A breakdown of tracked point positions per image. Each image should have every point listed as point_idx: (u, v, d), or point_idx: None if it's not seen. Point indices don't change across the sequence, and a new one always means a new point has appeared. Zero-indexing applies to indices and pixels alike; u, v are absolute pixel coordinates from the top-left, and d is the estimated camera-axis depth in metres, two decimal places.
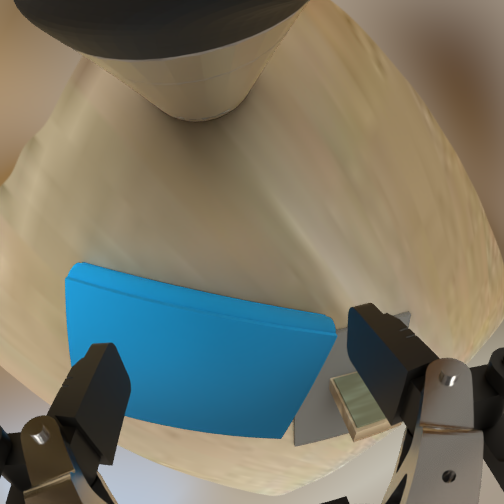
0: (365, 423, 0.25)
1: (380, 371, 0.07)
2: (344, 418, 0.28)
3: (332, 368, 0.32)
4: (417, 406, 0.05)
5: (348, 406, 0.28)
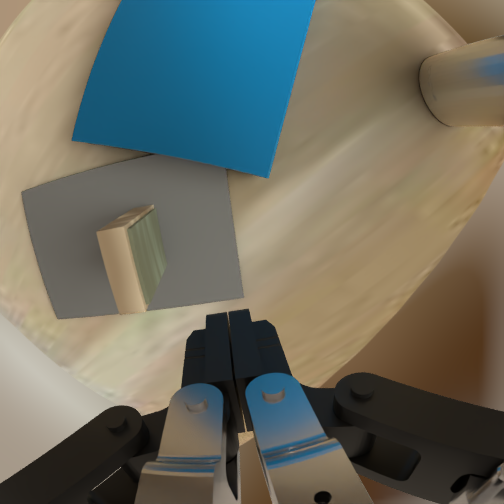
0: (134, 242, 0.18)
1: None
2: (119, 219, 0.20)
3: (171, 203, 0.26)
4: None
5: (142, 220, 0.21)
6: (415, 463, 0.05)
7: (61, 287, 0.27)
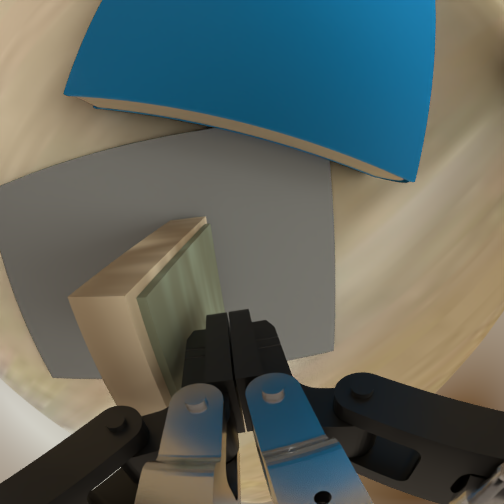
0: (157, 326, 0.08)
1: None
2: (132, 255, 0.10)
3: (238, 214, 0.16)
4: None
5: (181, 259, 0.10)
6: (415, 463, 0.05)
7: (53, 337, 0.17)
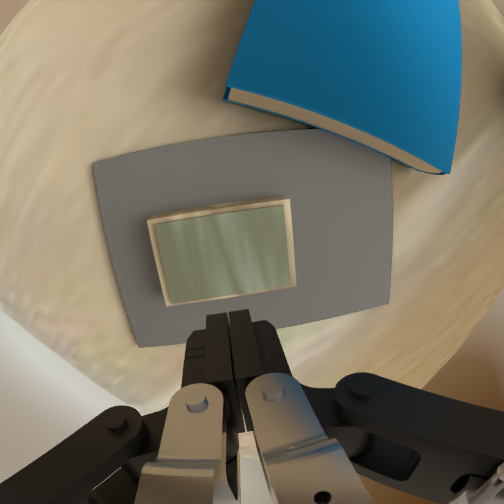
0: (160, 239, 0.18)
1: None
2: (199, 208, 0.19)
3: (332, 192, 0.20)
4: None
5: (204, 218, 0.18)
6: (415, 463, 0.05)
7: (152, 304, 0.21)
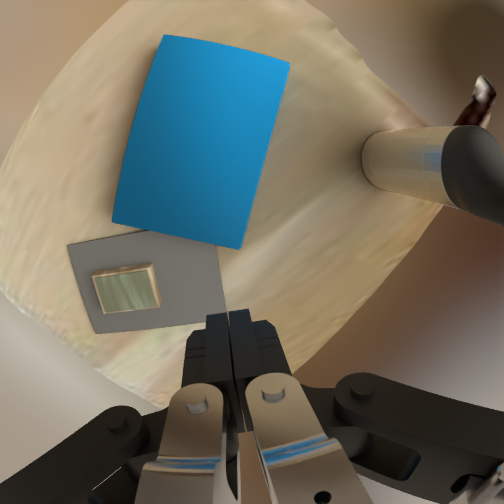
0: (97, 284, 0.37)
1: None
2: (114, 269, 0.38)
3: (178, 259, 0.40)
4: None
5: (114, 276, 0.37)
6: (415, 463, 0.05)
7: (100, 312, 0.40)
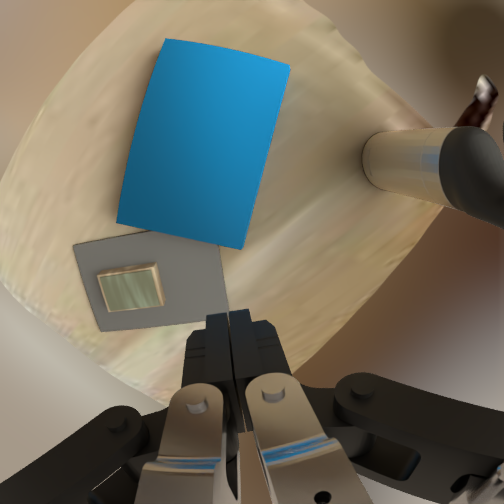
0: (102, 283, 0.38)
1: None
2: (119, 268, 0.39)
3: (182, 259, 0.41)
4: None
5: (118, 275, 0.38)
6: (415, 463, 0.05)
7: (105, 310, 0.42)
